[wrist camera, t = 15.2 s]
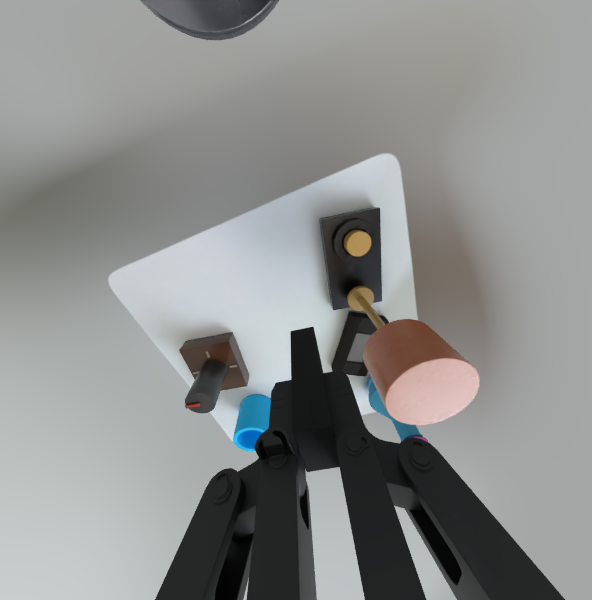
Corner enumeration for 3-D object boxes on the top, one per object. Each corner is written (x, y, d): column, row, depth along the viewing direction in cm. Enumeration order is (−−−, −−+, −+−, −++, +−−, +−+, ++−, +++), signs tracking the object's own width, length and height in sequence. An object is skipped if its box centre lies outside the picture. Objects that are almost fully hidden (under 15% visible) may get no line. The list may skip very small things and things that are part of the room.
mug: (247, 419, 54) (241, 454, 47) (235, 398, 51) (227, 431, 44) (292, 410, 53) (293, 444, 46) (283, 388, 50) (283, 420, 43)
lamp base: (319, 218, 34) (323, 220, 31) (374, 207, 34) (385, 208, 30) (331, 305, 41) (335, 315, 37) (377, 296, 41) (386, 305, 37)
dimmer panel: (185, 341, 43) (178, 350, 41) (232, 332, 43) (228, 341, 40) (207, 382, 48) (202, 394, 46) (249, 375, 48) (247, 386, 45)
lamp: (333, 280, 35) (384, 367, 17) (382, 271, 34) (488, 350, 16) (339, 321, 38) (385, 431, 20) (383, 313, 38) (471, 417, 20)
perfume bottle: (370, 400, 53) (399, 469, 39) (357, 377, 49) (383, 443, 36) (406, 386, 51) (448, 453, 38) (394, 361, 48) (437, 425, 34)
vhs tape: (384, 316, 43) (389, 321, 41) (362, 369, 48) (365, 376, 47) (349, 311, 42) (352, 316, 40) (331, 366, 48) (333, 372, 46)
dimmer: (222, 357, 42) (208, 392, 34) (230, 376, 44) (218, 412, 36) (198, 362, 42) (178, 397, 35) (207, 380, 44) (191, 417, 37)
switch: (342, 232, 32) (345, 234, 30) (366, 227, 32) (371, 229, 30) (344, 255, 33) (347, 258, 31) (367, 251, 33) (371, 254, 31)
